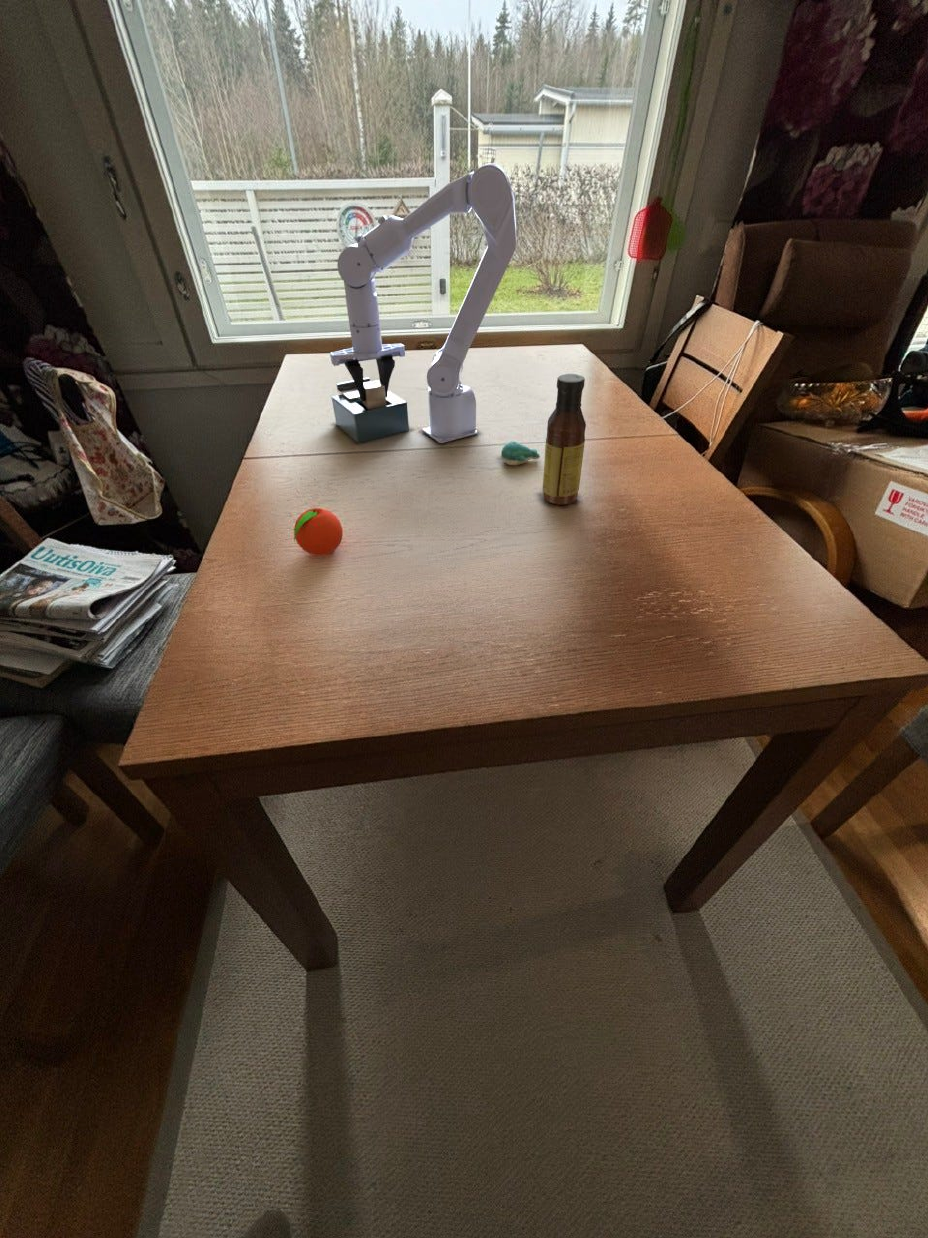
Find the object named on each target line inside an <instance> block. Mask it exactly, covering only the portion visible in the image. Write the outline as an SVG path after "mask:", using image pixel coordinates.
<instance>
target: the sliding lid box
mask: <svg viewBox="0 0 928 1238" xmlns="http://www.w3.org/2000/svg"><path fill="white" fill-rule="evenodd" d="M331 401H332V407H333V408H332V409H333V413H334V419H335V425H337V426H338V427H339V428H340V429H341V430H343V432H345V433H346V434H347V435H348V436H349V437H350V438H351V439H353V440H354V441H355V442H356V443H358V444H361V443H365V442H368V441H373V440H377V439H380V438H385V437H388V436H392V435H396V434H400V433H404V432H408V431H410V424H409V423H410V422H409V412H408V411H409V410H408V402H407V401H405V400H404V399H403V398H401V397H399V396H398V395H397V394H395V393H393V392H392V391H390V390H389V389H388V395H387V397H386V405H387V406H384V407H379V408H373V409H368V408H367V407H366V406H365V405H364V404H363V403H362V400H361V399H357V400H352V401H349V400H348V399H347V398H345V397H344V396H343V395H341V394H337V395H331Z"/></svg>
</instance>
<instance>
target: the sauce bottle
mask: <svg viewBox="0 0 928 1238" xmlns="http://www.w3.org/2000/svg"><path fill="white" fill-rule="evenodd" d="M556 380H557V381H556V389H557V395H556V403H555V408H554V410H553V411H552V413H551V414H550V415H549V417H548V419H547V427H546V438H545V448H544V462H543V475H542V488H541V489H542V496H543V498H544V500H545V501H546V502H547V503H551V504H554V505H557V506H558V505H559V506H560V505H561V506H562V505H563V506H565V505H570V504H573V503H574V502H575V501H576V500H577V498H578V495H579V491H580V484H581V476H582V467H583V459H584V451H585V443H586V434H585V433H586V428H587V423H586V420H585V418H584V414H583V411H582V396H583V390H584V388H585V380H586V379H585V377H584V376H583V375H582V374H576V373H566V374H561V375H559V376H557V379H556Z"/></svg>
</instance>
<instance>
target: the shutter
mask: <svg viewBox="0 0 928 1238" xmlns="http://www.w3.org/2000/svg"><path fill="white" fill-rule="evenodd" d="M363 381H364V382H370V381H371V379H370V377H363ZM335 385H336V392H337V393H339V395H343V396H344V397H345V398H347V399H348V400H349V401H352V400H357V399H360V396H359V393H358V390H357V387H356V385H355V382H354V380H353V379H352V380H348V381H343V382H337V383H336V384H335Z"/></svg>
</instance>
